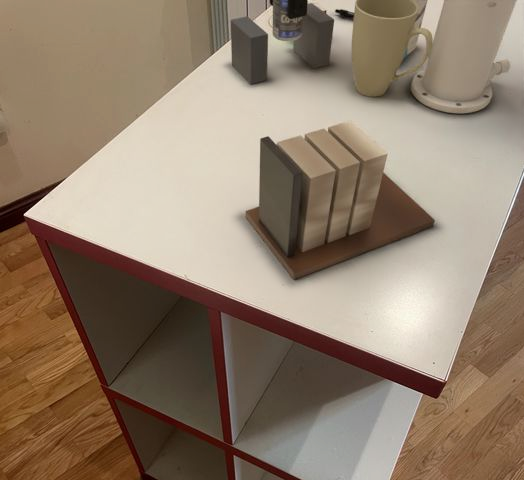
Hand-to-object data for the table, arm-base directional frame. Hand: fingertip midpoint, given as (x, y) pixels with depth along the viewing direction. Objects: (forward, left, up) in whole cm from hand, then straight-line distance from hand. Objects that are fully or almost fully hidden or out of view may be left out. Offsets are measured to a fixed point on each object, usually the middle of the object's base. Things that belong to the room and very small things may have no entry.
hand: (287, 8), depth 80 cm
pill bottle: (0, 0, -4) cm, 4 cm away
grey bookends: (+1, -1, -9) cm, 9 cm away
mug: (-9, +13, -9) cm, 19 cm away
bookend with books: (+14, +37, -9) cm, 41 cm away
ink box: (-19, +4, -9) cm, 22 cm away
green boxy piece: (-8, -8, -9) cm, 14 cm away
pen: (-22, -7, -9) cm, 25 cm away
